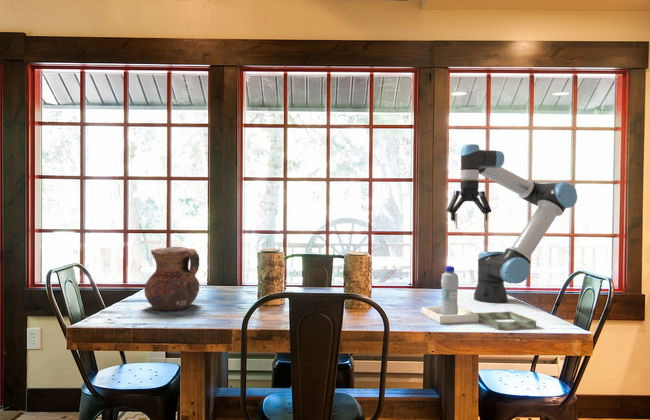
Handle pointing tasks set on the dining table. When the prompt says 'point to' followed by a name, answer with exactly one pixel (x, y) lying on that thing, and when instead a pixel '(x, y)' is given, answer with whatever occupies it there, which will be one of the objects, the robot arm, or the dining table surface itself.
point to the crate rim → (517, 324)
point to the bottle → (449, 292)
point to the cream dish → (461, 317)
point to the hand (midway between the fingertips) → (468, 228)
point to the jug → (173, 278)
